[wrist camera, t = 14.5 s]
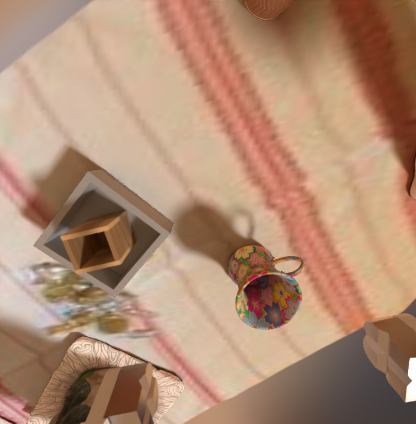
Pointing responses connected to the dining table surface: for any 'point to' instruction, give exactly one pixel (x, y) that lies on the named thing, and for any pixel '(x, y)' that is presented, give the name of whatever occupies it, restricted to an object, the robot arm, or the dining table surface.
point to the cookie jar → (92, 384)
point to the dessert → (5, 421)
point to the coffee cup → (267, 7)
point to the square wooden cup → (100, 242)
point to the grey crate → (98, 206)
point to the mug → (264, 288)
